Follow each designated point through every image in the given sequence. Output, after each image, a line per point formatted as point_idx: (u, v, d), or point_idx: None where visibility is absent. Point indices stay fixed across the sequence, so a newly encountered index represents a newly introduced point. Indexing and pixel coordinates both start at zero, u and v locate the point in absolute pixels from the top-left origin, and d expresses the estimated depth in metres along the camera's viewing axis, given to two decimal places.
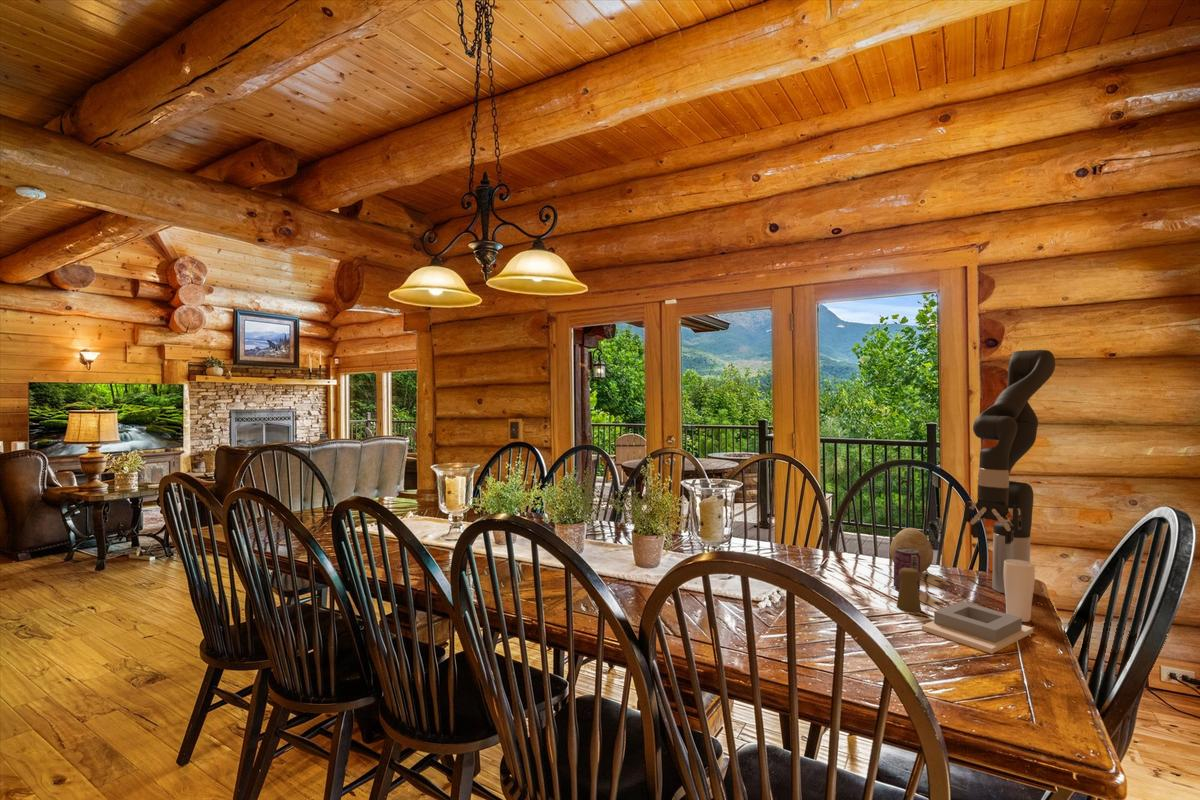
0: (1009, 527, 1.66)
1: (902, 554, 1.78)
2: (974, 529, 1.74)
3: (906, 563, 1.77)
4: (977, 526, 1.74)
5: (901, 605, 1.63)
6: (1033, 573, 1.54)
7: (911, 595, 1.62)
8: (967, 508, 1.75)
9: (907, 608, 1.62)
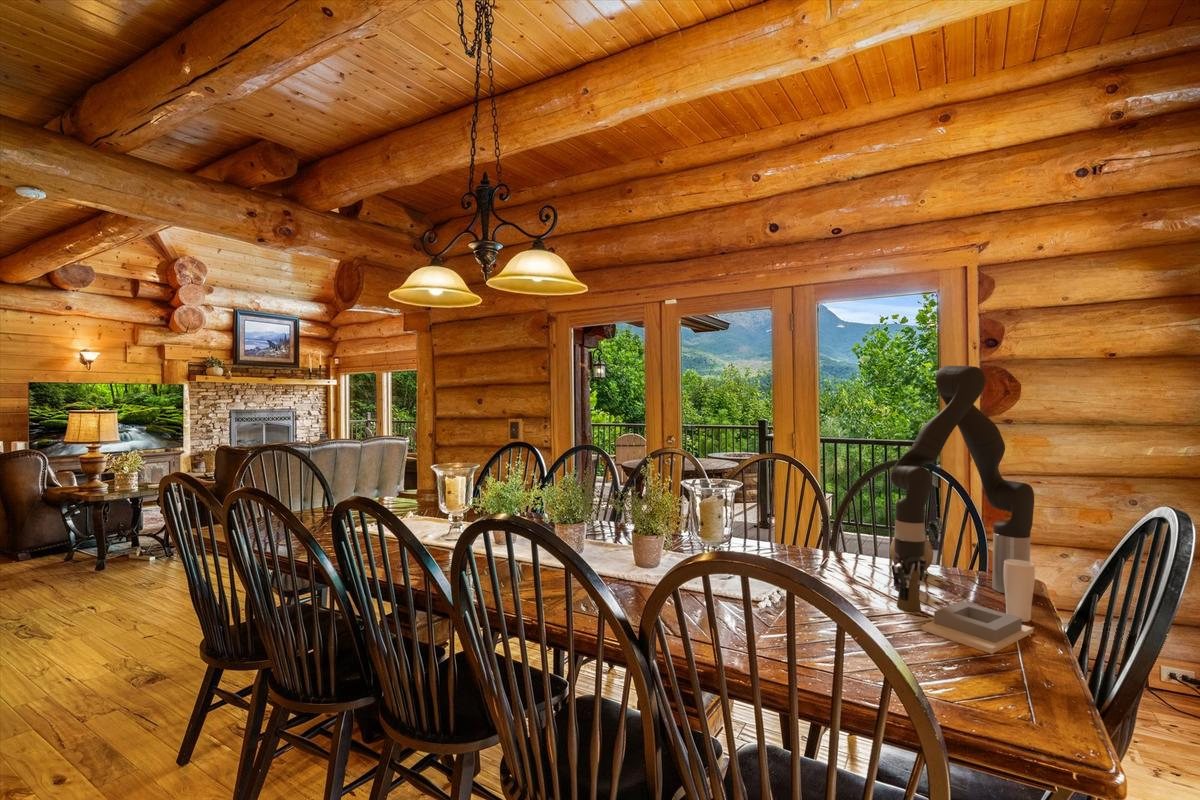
0: None
1: None
2: (908, 592, 1.62)
3: None
4: None
5: (901, 605, 1.63)
6: (1033, 573, 1.54)
7: (911, 595, 1.62)
8: (902, 573, 1.60)
9: (907, 608, 1.62)
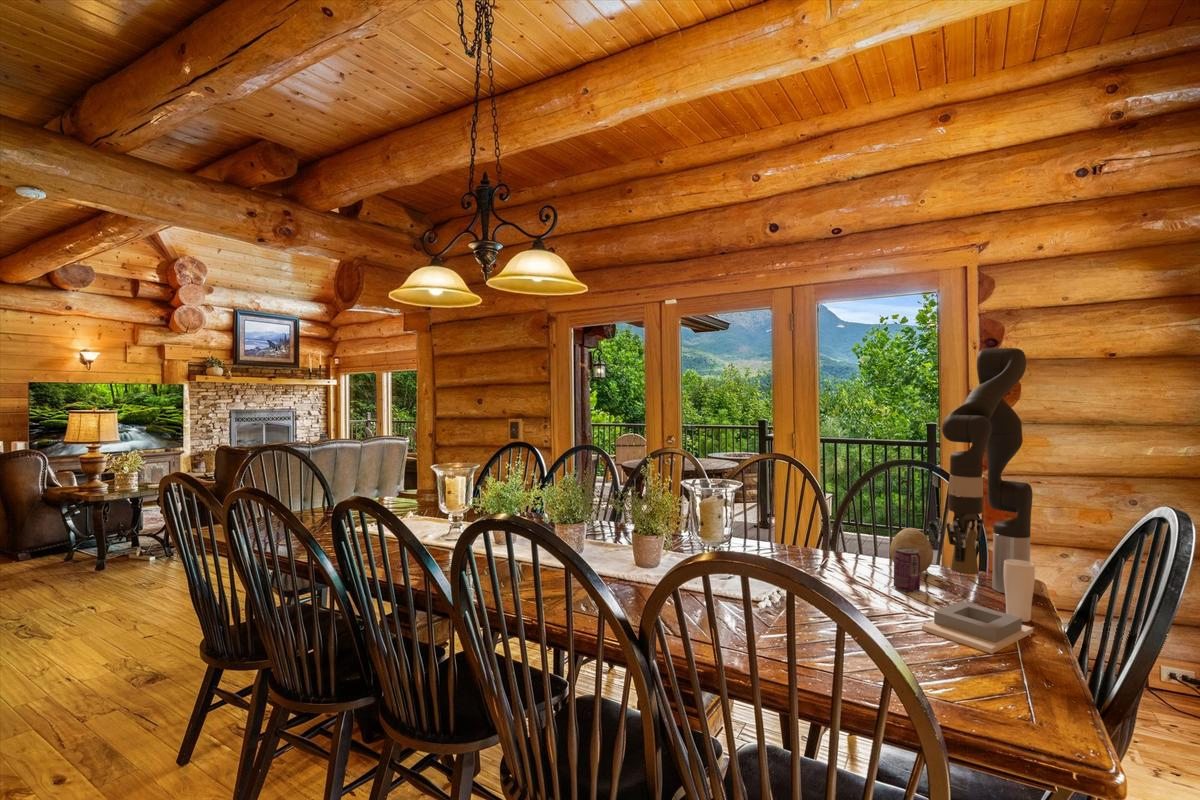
0: None
1: (902, 554, 1.78)
2: (964, 552, 1.49)
3: (906, 563, 1.77)
4: None
5: (956, 567, 1.50)
6: (1033, 573, 1.54)
7: (968, 555, 1.49)
8: (958, 531, 1.47)
9: (963, 570, 1.49)
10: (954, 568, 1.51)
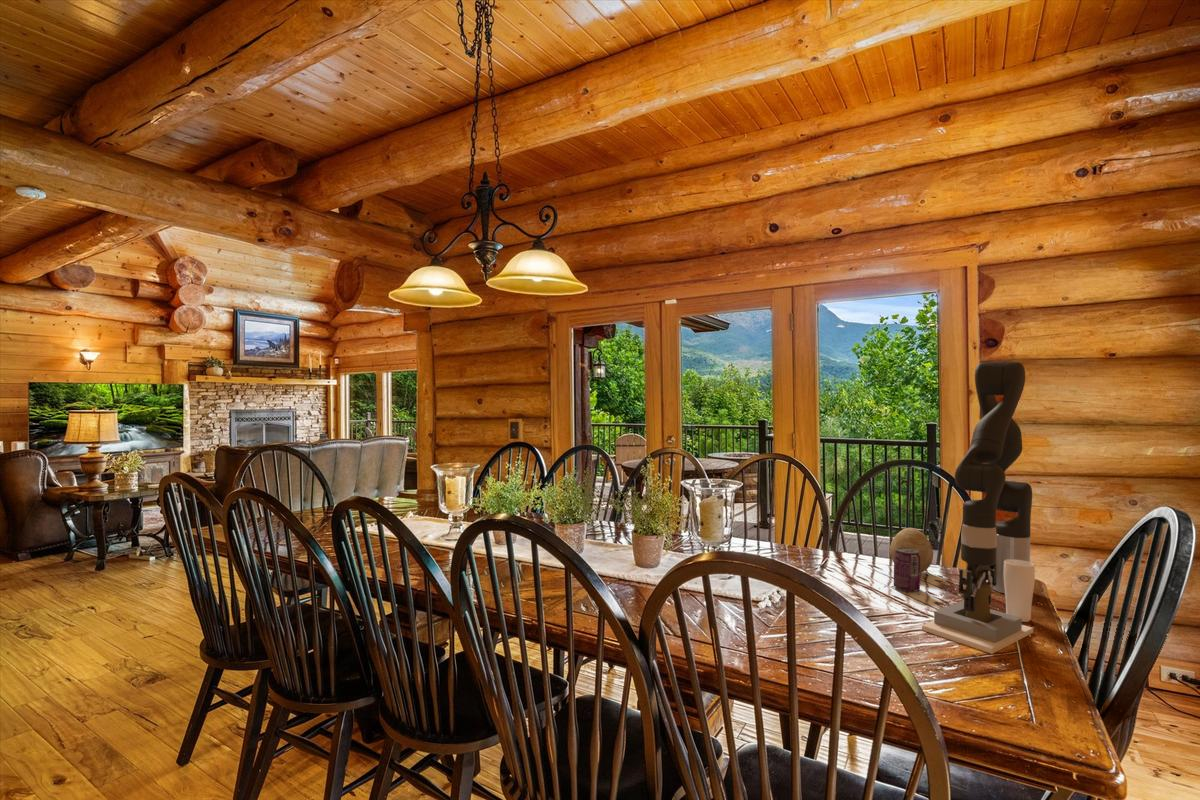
0: None
1: (902, 554, 1.78)
2: (974, 601, 1.45)
3: (906, 563, 1.77)
4: None
5: None
6: (1033, 573, 1.54)
7: (982, 611, 1.47)
8: (971, 579, 1.44)
9: None
10: None
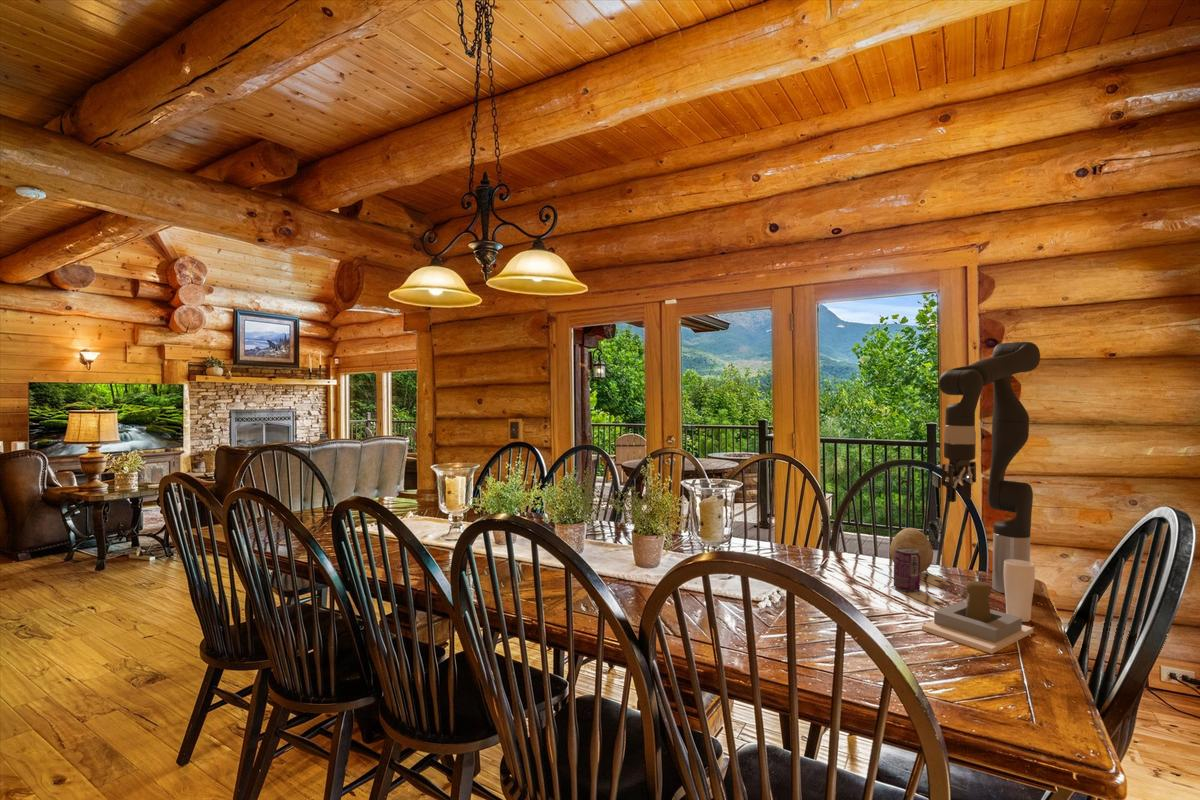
0: None
1: (902, 554, 1.78)
2: (955, 492, 1.61)
3: (906, 563, 1.77)
4: None
5: None
6: (1033, 573, 1.54)
7: (982, 611, 1.47)
8: (952, 472, 1.60)
9: None
10: None
